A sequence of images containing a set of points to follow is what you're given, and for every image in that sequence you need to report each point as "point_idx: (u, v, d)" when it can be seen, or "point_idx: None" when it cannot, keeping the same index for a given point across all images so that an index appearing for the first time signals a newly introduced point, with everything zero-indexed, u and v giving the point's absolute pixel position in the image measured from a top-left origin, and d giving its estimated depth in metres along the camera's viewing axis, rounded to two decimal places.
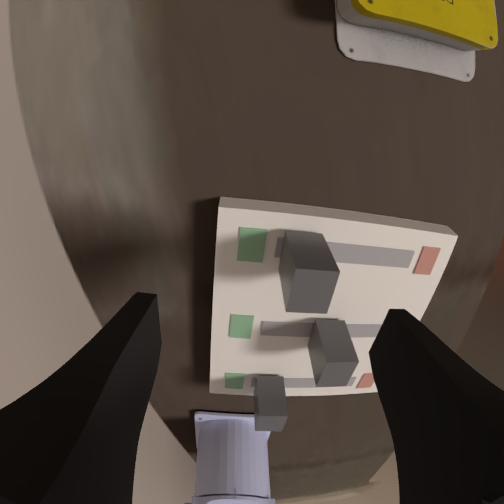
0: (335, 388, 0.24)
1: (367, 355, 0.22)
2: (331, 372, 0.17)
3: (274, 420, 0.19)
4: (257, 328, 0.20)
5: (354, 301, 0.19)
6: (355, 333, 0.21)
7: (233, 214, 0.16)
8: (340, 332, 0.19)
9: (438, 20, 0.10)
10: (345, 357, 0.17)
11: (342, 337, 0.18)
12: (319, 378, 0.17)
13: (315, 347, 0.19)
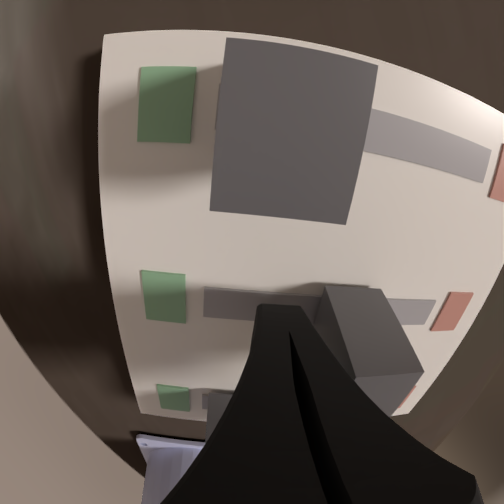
0: None
1: None
2: None
3: None
4: (196, 302, 0.10)
5: (389, 247, 0.09)
6: None
7: (130, 43, 0.06)
8: (377, 310, 0.09)
9: None
10: (395, 363, 0.07)
11: (382, 320, 0.08)
12: None
13: None
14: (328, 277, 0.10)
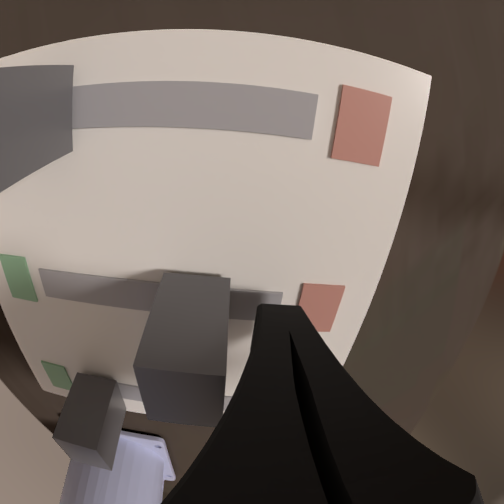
0: None
1: None
2: (162, 393, 0.07)
3: (82, 451, 0.09)
4: (39, 283, 0.10)
5: (189, 227, 0.09)
6: None
7: None
8: (207, 300, 0.08)
9: None
10: (191, 360, 0.06)
11: (206, 311, 0.08)
12: (143, 401, 0.07)
13: None
14: (133, 260, 0.09)
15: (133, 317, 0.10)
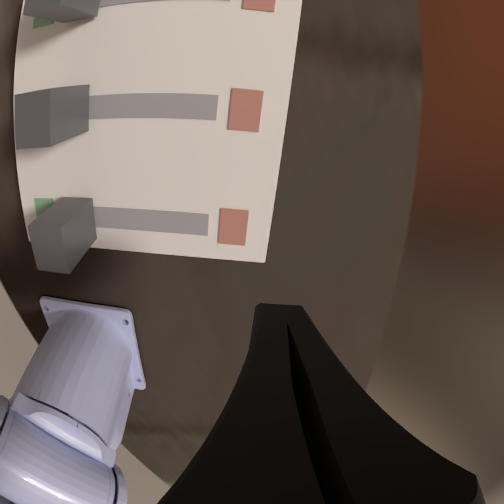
0: (182, 239, 0.17)
1: (212, 162, 0.15)
2: (23, 114, 0.09)
3: (48, 239, 0.12)
4: None
5: (159, 53, 0.12)
6: (174, 109, 0.13)
7: None
8: None
9: None
10: (40, 90, 0.09)
11: None
12: (15, 129, 0.09)
13: None
14: (121, 80, 0.12)
15: (114, 127, 0.13)
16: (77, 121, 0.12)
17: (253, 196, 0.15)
